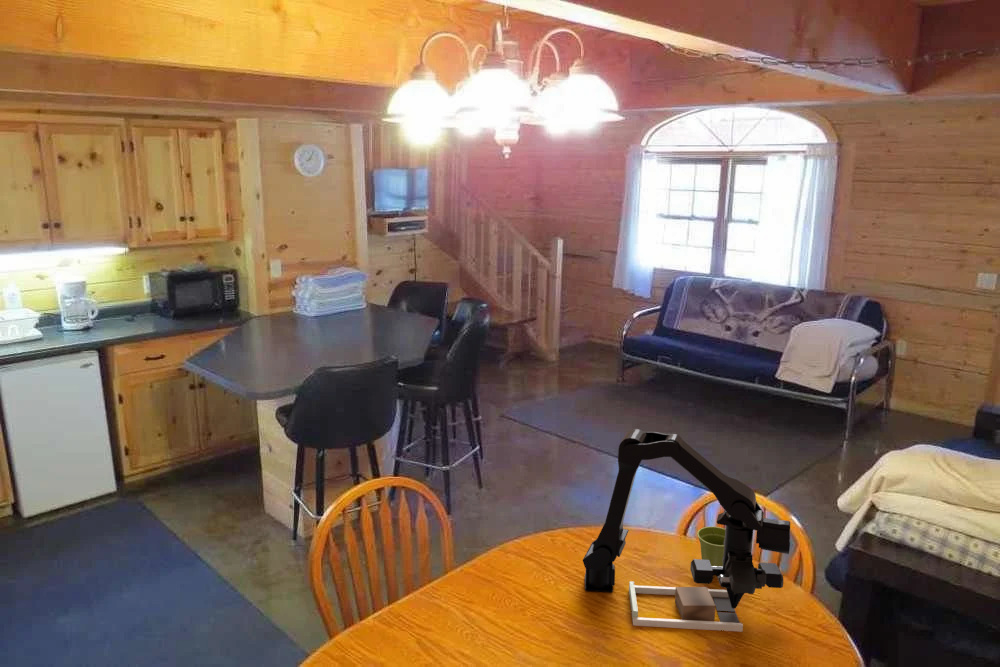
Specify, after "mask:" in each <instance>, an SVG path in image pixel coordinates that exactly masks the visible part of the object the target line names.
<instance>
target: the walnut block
mask: <svg viewBox="0 0 1000 667" xmlns="http://www.w3.org/2000/svg"><path fill="white" fill-rule="evenodd" d="M708 589H709V588H708V586H676V593H675V595H674V596H675V597H674V603H675V605H676V607H677V608H676V609H677V610H679V611H678V613H679V616H680V615H681V616H680V619H681V618H682V619H681V620H694V621H712V622H715V621H716V620H715V617H716V607H715V603H714V600H713V597H711V595H710V593H709V591H708ZM714 620H715V621H714Z"/></svg>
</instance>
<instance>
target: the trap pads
mask: <svg viewBox="0 0 1000 667" xmlns="http://www.w3.org/2000/svg"><path fill="white" fill-rule="evenodd" d="M712 599H713V601H714V604H715V606H716V607H715V611H716V612H717V615H718V619H719V622H730V623H740V620H739V617H738V615H737V612H736V608H732V607H731V604H730V600H729V598H726V597H712ZM721 611H726V612H721ZM727 611H728V612H727Z"/></svg>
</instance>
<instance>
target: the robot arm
mask: <svg viewBox="0 0 1000 667" xmlns="http://www.w3.org/2000/svg"><path fill="white" fill-rule="evenodd" d="M617 452H618V453H617V465H618V471H617V476H616V480H615V483H614V487H613V491H612V495H611V499H610V503H609V507H608V511H607V515H606V518H605V522H604V523H603V526H602V528H601V530H600V532H599V534H598V536H597V538H596V539H595V540H594V541H592V542H591V543H590V545H589V548H588V549H587V551H586V553H585V555H584V556H583V559H582V564H583V566H584V568H585V572H584V573H585V574H584V590H585V591H587V592H598V593H599V592H600V593H601V592H603V593H613V592H614V586H615V585H616V566H615V564H614V562H615V560H616V558H617V557H618V558H620V557H621V555H622V552H623V550H624V548H625V545H626V538H627V535H628V533H629V532H630V530H629V529H626V528H624V518H625V516H626V511H627V509H628V504H629V500H630V497H631V493H632V490H633V485H634V482H635V478H636V474H637V471H638V469H639V466H640V465H641V463H642V461H648V460H655V459H660V458H666V457H667V458H671V459H673V460H674V461H675V462H676V463H677V464H678V465H679V466H681V467H682V468H683V469H684V470H685V471H687V472H688V473H689V475H691V476H693V477H694V478H695V480H697V481H699V483H701V484H702V485H703V486H704V487H705V488H707V489H708V490H709V491H710V492H711V493H712V494H713V495H714V497H715V498H716V500H717V501H718V503H719V505H720V506H721V508H722V509H724V511H723V512H720V513H718V514H717V518H716V524H717V525H721V526H725V528H724V529H725V541H724V555H723V560H722V562H723V567H717V566H711V564H710V561H709V560H702V558H701V559H697V558H693V559H692V560H691V562H690V567H689V568H690V572H691V573H690V574H691V576H692V579H693V582H694V583H695V584H702V585H710V584H711V583H713V582H714V577H717V581H718V583H719V586H720V588H725V590H727V593H728V597H729V600H730V604H731V607H732V608H734V609H737V607H738V605H739V603H740V601H741V599H742V598H743V596H744V595H745V594H748V595H753V594H755V592H756V589H758V590H759V589H760V590H762V589H763V588H764V587H765V586H767V587H768V588H772V589H775V588H776V589H781V588H783V586H784V575H783V573H782V572H781V569H780V568H779V565H777V563H775V562H774V563H773V562H758V564H757V567H755V566H754V562H753V560H754V559H753V558H754V557H753V552H752V551H753V540H754V539H753V538H754V531H756V536H755V537H756V538H755V544H756V545H758V549H761V550H764V551H769V552H774V553H780V554H784V555H789V554H790V548H791V521H789V520H784V519H782V520H781V519H780V520H779V519H774V518H767V517H764V516H765V515H764V514H765V513H764V511H763V509H762V508H761V506H760V505H759V503H758V502H757V497H756V496H757V495H756V493H755V490H753V489H752V488H751V487H750V486H748V485H746V484H745V483H743V482H741V481H739V480H738V479H735V478H732V477H731V476H728V475H726V474H725V473H723V472H722V471H721V470H719V469H718V468H717V467H716V466H715V465H714V464H712V463H711V462H710V461H709V460H707V459H706V458H705V457H703V456H702V455H701V454H700V453H699V452H698V451H697V450H695V449H694V448H693V447H692V446H691V445H689V444H688V443H687V442H686V441H685V440H684V439H683V438H682V437H681V435H679V434H677V433H663V432H658V431H644V430H641V429H638V428H634V429H630V430H629V431H627V432H626V434H625V435H624V436H623V438H622V439H621V442H620V443H619V445H618V450H617Z"/></svg>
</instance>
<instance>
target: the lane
mask: <svg viewBox="0 0 1000 667" xmlns="http://www.w3.org/2000/svg"><path fill="white" fill-rule="evenodd" d="M628 583H629V584H628V594H629V595H630V596H629V602H630V603H629V604H630V610H631V611H632V612H631V618H632V619H631V620H632V626H638V627H651V628H652V627H653V628H654V627H656V628H673V629H689V630H704V631H705V630H707V631H721V630H722V631H723V630H724V631H723V632H741V633H742V632H743V629H744V628H743V627H744V625H743V622H739V623H730V622H720V621H694V620H682V619H675V618H674V619H673V618H659V617H658V618H655V617H641V616H640V617H639V609H638V603H637V595H636V594H643V595H644V594H646V595H647V594H648V595H666V596H667V595H668V596H675V593H676V587H677V586H676V587H675V586H674V587H673V586H672V587H671V586H659V585H658V586H654V585H640V584H639V585H637V584H635V581H629V582H628ZM707 589H708V591H709V593H710V595H711V597H712V598H713V597H726V598H729V597H728V593H727V590H726V589H715V588H713V589H712V588H711V589H710V588H707Z"/></svg>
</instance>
